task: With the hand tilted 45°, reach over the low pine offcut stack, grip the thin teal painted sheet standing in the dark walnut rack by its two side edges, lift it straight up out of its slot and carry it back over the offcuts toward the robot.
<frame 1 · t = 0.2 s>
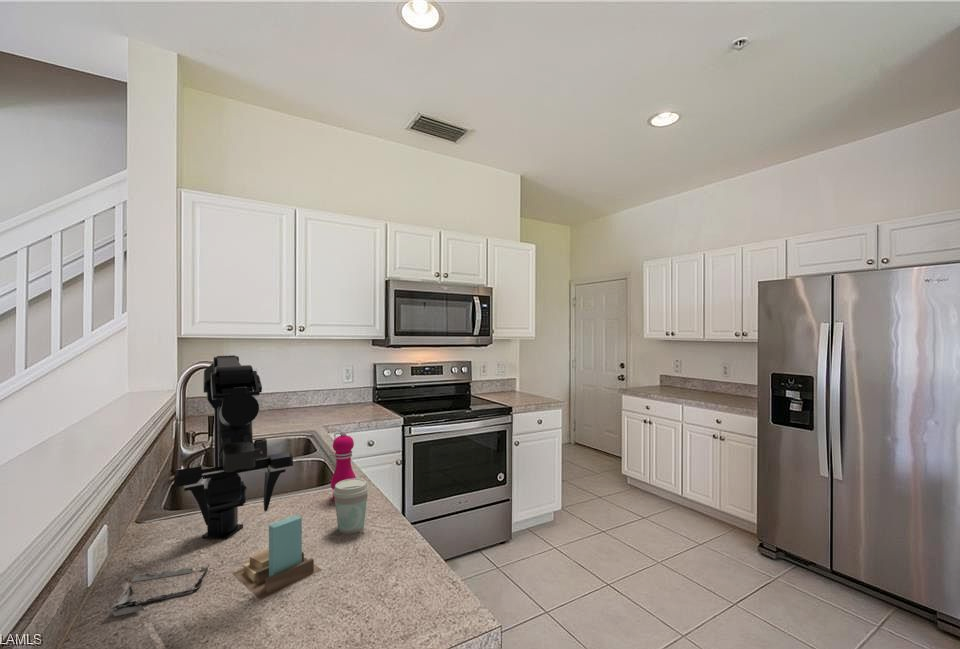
hand: (237, 517, 75), 16 cm above the counter, tool tilted 15°, fingers open, 9 cm apart
walnut rack: (285, 584, 81), on the counter
coffee cup: (351, 533, 102), on the counter
teal sheet: (285, 577, 81), point 1 cm above the counter, touching walnut rack
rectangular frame: (163, 598, 78), on the counter
pepper mill: (343, 498, 123), on the counter
offcut stack: (272, 567, 85), point 1 cm above the counter, touching walnut rack
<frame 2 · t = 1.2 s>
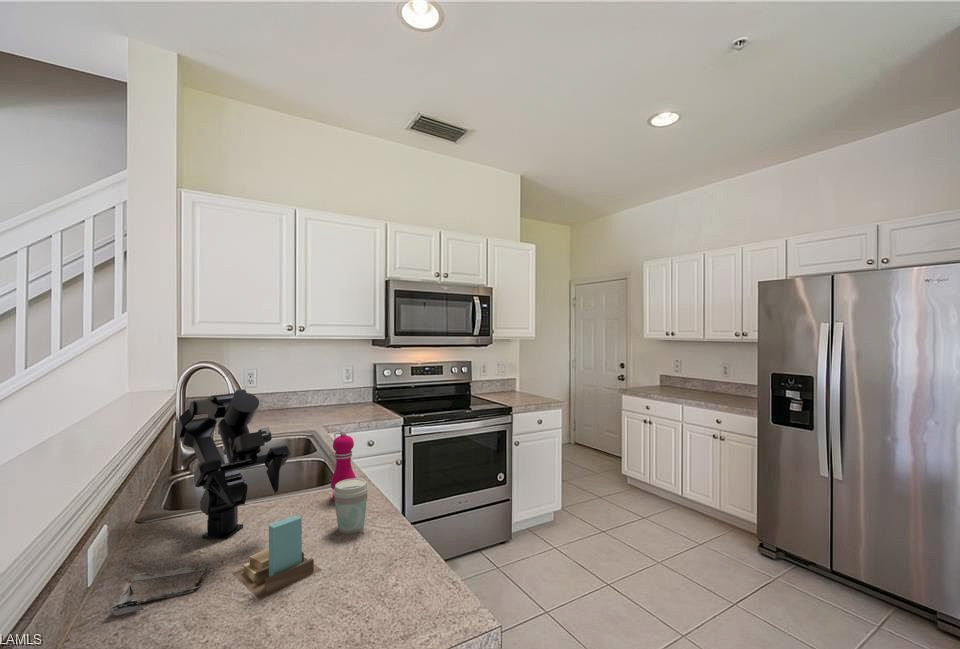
hand: (255, 498, 90), 13 cm above the counter, tool tilted 45°, fingers open, 9 cm apart
nothing on the counter moved.
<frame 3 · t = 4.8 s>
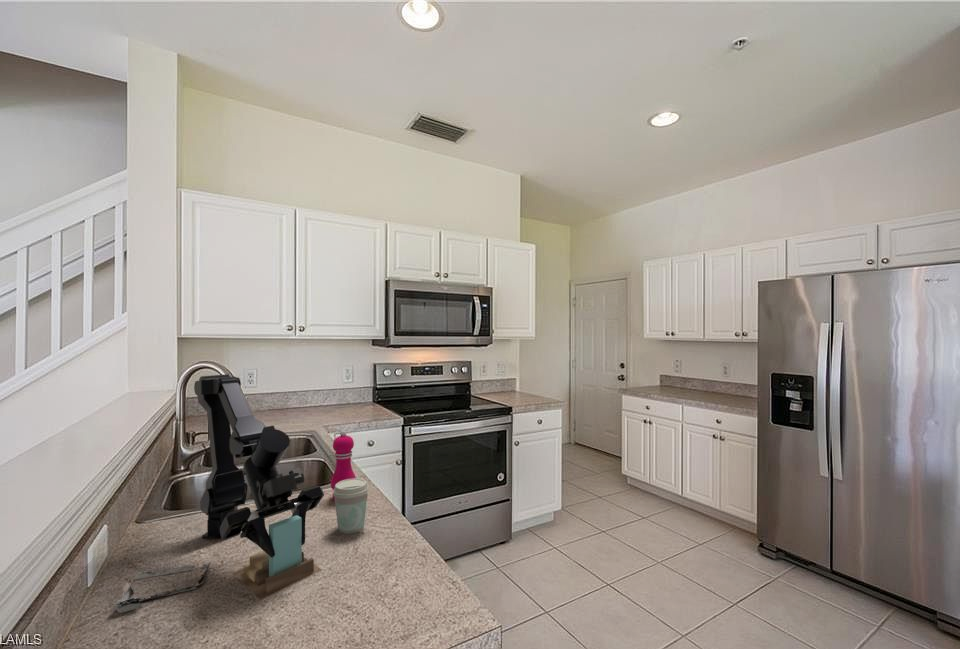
hand: (288, 550, 80), 7 cm above the counter, tool tilted 45°, fingers closed on teal sheet, 5 cm apart
teal sheet: (285, 578, 81), point 1 cm above the counter, touching gripper, walnut rack
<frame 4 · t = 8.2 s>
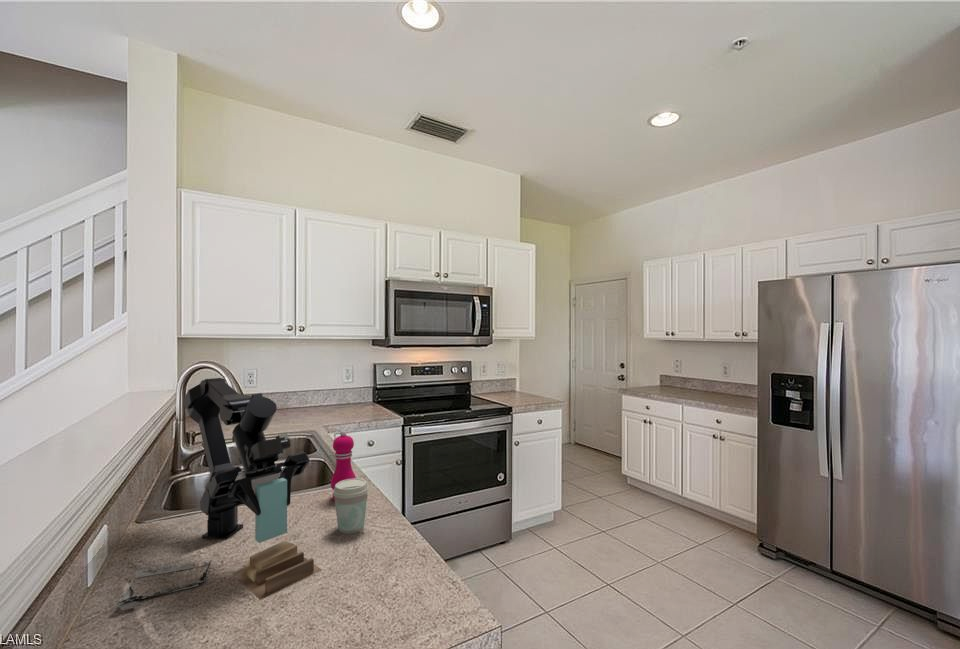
hand: (274, 509, 84), 13 cm above the counter, tool tilted 45°, fingers closed on teal sheet, 5 cm apart
teal sheet: (271, 536, 85), point 7 cm above the counter, touching gripper
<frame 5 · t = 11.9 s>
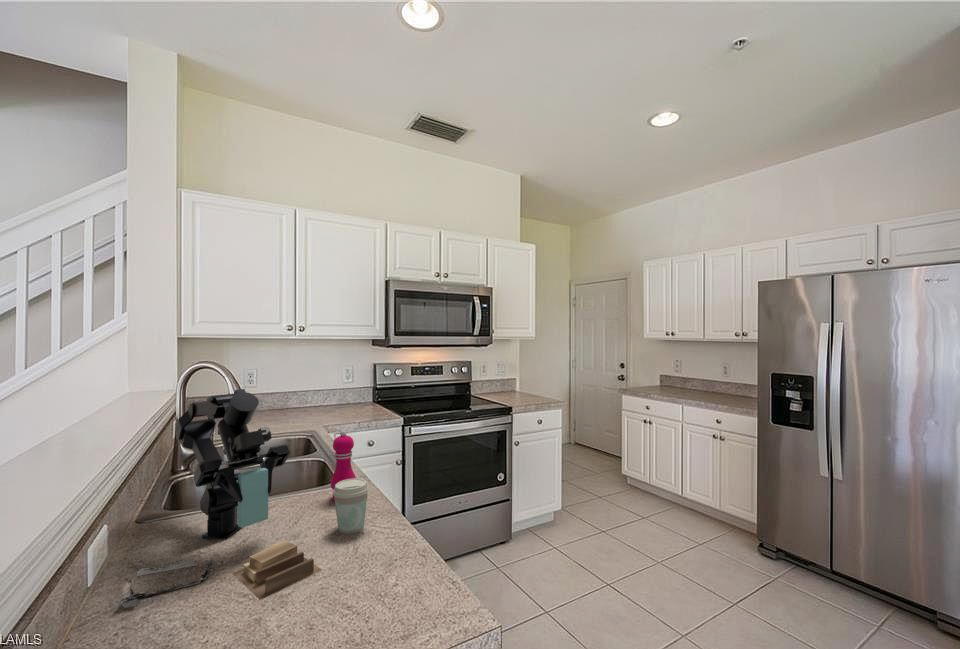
hand: (255, 496, 90), 14 cm above the counter, tool tilted 45°, fingers closed on teal sheet, 5 cm apart
teal sheet: (253, 522, 91), point 8 cm above the counter, touching gripper
at the end: the gripper is holding teal sheet; teal sheet inside the target area (0.3 cm from its centre), point 7.7 cm above the counter; offcut stack moved 0.0 cm from its start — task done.
